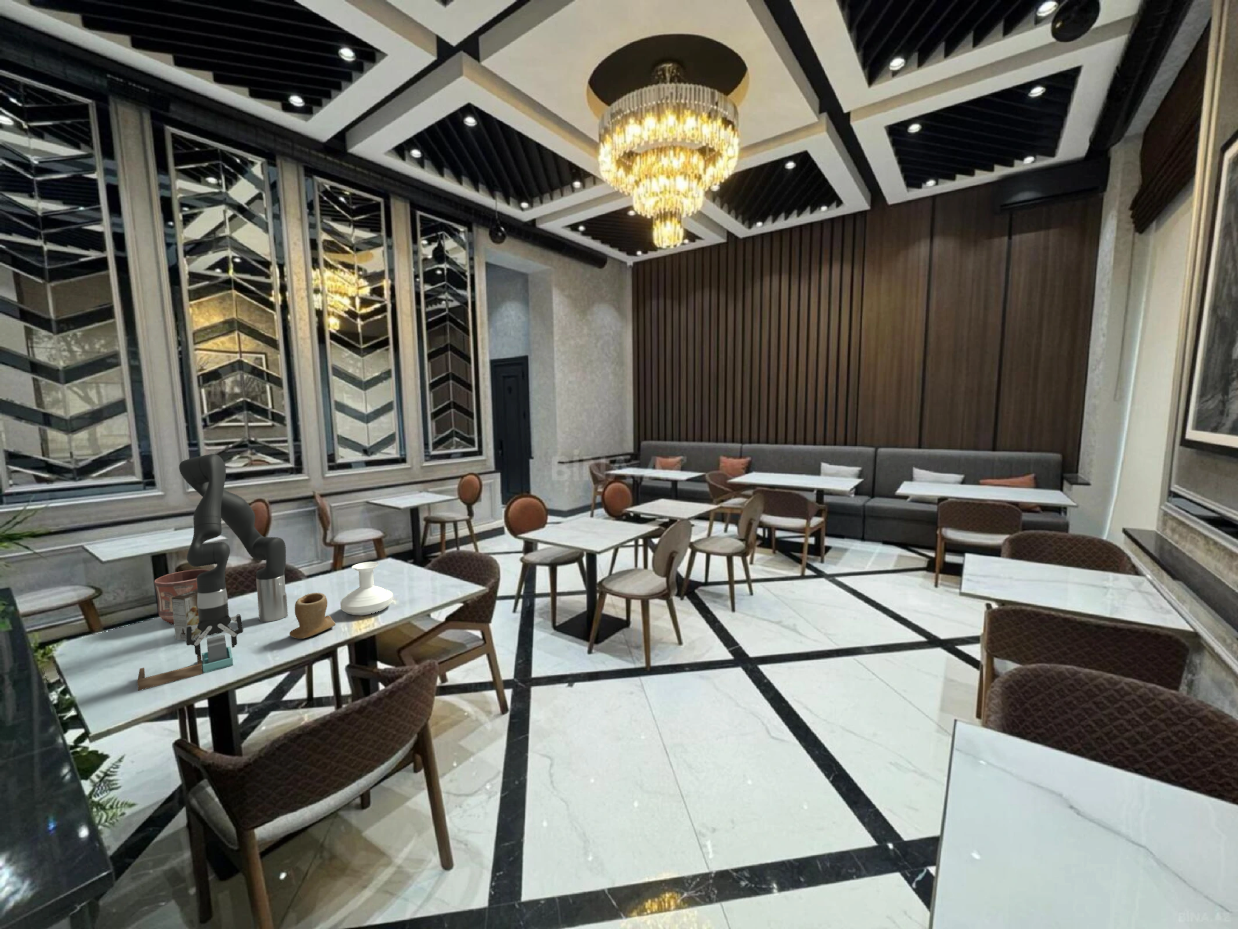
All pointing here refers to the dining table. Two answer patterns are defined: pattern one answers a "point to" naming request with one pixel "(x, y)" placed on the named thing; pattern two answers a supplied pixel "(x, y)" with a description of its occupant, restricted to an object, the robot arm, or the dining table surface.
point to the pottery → (174, 590)
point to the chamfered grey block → (216, 648)
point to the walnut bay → (168, 675)
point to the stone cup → (311, 616)
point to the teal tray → (217, 662)
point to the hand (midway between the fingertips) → (216, 650)
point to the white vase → (366, 593)
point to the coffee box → (185, 614)
